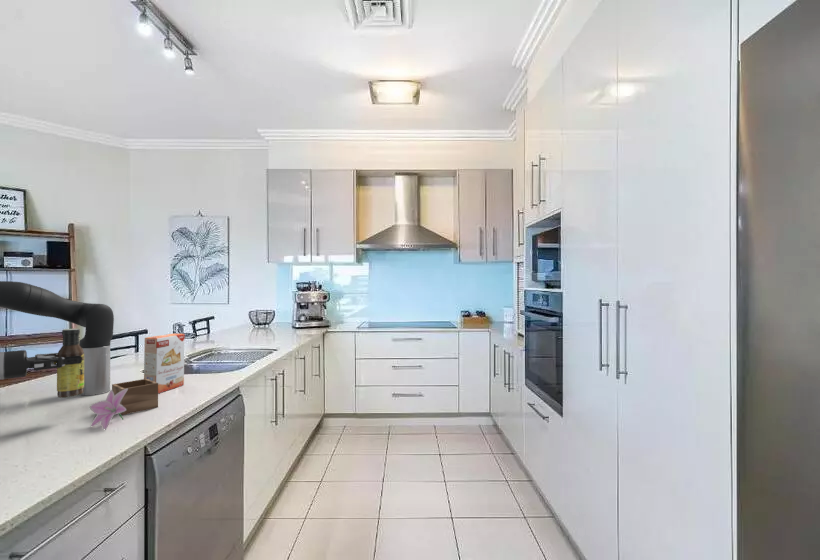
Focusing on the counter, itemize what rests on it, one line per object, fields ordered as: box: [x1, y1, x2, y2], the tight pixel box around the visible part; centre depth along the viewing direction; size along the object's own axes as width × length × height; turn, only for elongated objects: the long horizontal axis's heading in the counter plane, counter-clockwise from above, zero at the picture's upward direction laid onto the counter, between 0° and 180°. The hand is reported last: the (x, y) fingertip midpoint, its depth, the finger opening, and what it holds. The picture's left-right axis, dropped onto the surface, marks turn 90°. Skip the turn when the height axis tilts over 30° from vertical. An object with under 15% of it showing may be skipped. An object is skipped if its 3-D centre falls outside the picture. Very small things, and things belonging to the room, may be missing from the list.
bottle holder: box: [111, 378, 159, 416], centre depth 133 cm, size 10×10×8 cm
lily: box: [89, 388, 128, 431], centre depth 119 cm, size 12×12×10 cm
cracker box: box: [143, 333, 186, 394], centre depth 156 cm, size 14×6×21 cm, turn 168°
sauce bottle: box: [56, 328, 84, 399], centre depth 121 cm, size 6×6×20 cm
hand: (80, 357), depth 123 cm, fingers closed on sauce bottle, 6 cm apart
